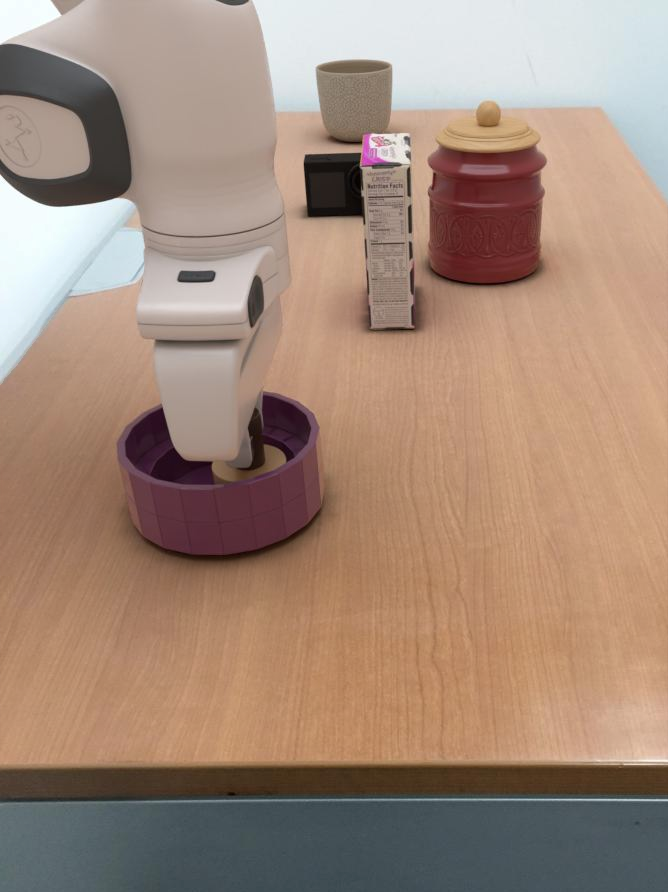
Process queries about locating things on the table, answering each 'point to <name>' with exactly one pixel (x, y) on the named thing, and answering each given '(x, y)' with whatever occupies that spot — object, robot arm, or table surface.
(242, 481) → the bowl
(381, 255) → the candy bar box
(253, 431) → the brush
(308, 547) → the table surface
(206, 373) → the robot arm
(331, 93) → the planter
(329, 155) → the digital camera
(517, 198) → the kitchen canister
